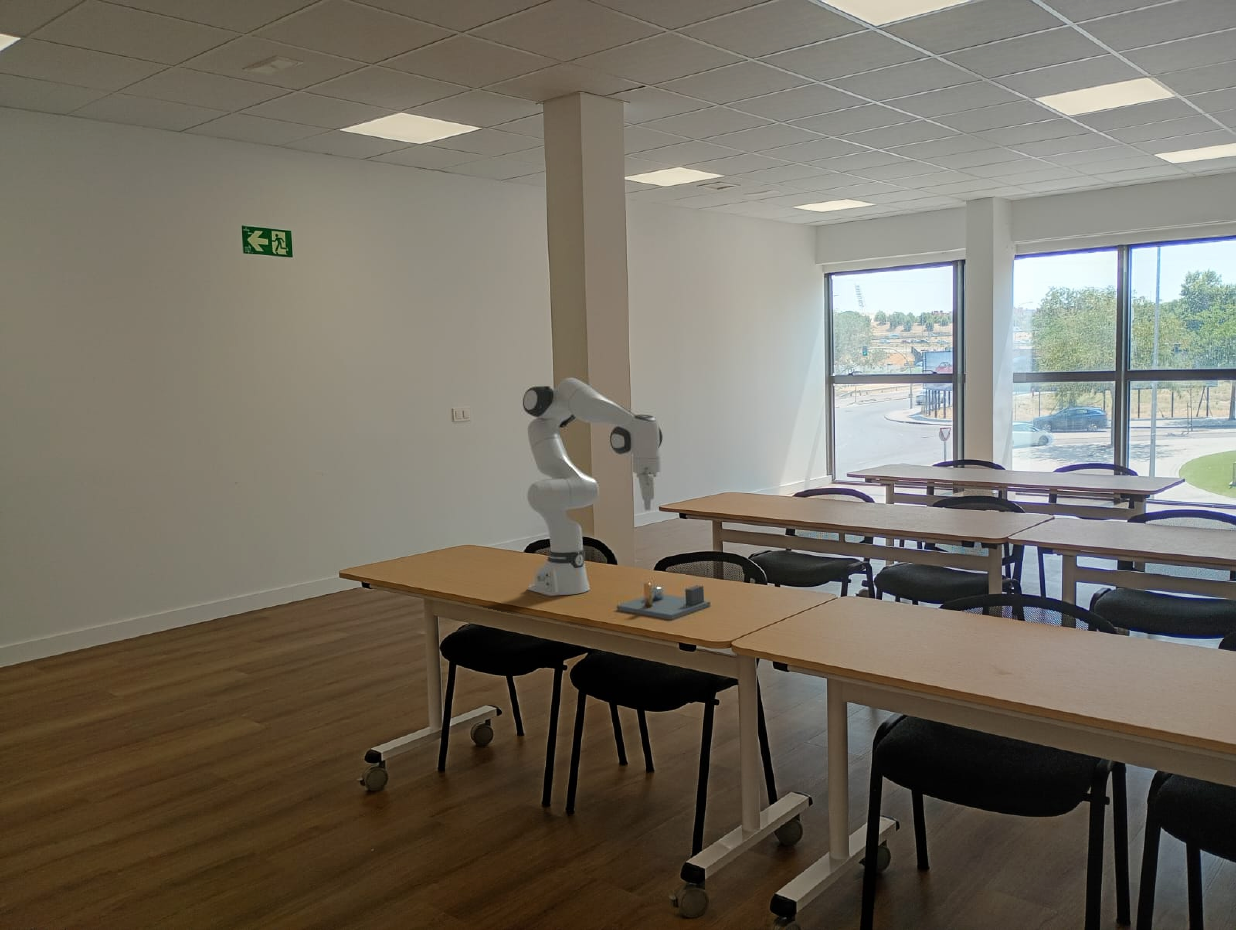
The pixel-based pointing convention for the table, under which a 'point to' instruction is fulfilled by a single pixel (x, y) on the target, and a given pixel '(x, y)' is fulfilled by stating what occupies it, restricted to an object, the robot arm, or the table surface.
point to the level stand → (669, 605)
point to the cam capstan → (652, 593)
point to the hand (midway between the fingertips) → (647, 509)
